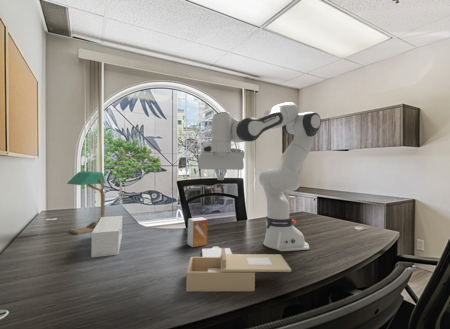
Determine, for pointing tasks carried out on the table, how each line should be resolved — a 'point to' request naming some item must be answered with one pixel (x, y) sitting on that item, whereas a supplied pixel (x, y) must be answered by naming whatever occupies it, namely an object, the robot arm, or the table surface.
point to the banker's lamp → (89, 179)
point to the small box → (197, 232)
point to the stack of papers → (107, 236)
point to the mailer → (216, 276)
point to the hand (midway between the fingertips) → (220, 179)
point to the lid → (253, 263)
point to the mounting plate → (214, 252)
